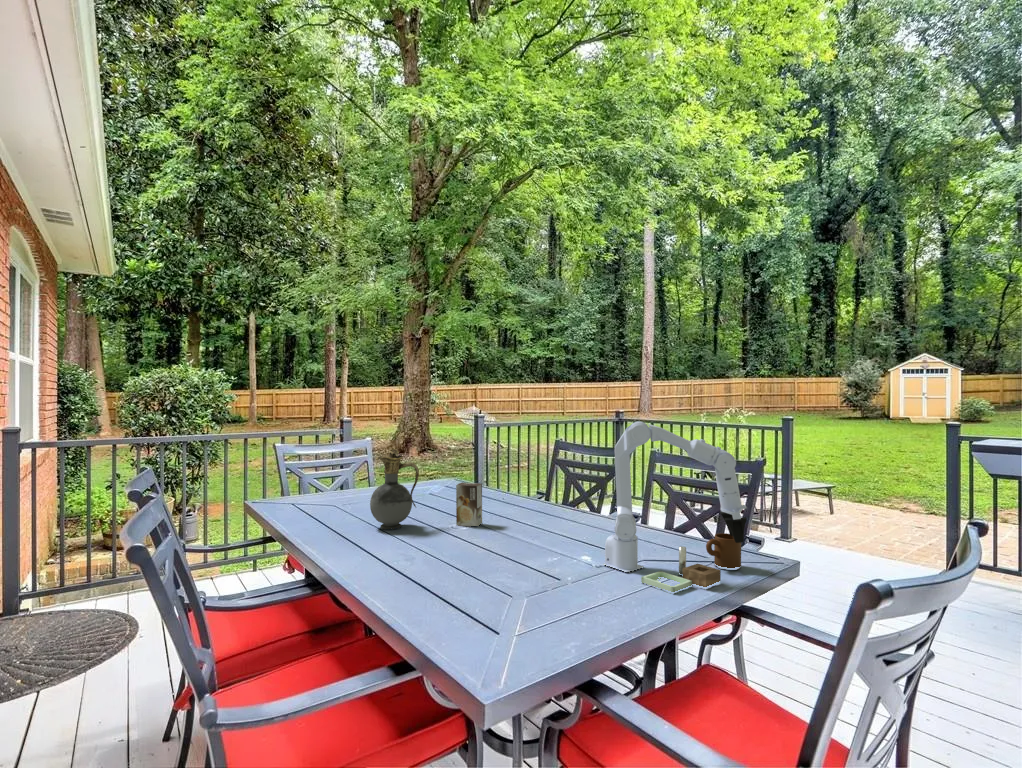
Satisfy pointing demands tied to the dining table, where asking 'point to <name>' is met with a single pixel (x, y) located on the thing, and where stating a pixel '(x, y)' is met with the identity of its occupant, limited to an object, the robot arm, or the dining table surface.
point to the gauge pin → (682, 559)
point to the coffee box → (468, 504)
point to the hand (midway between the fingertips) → (736, 538)
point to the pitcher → (392, 493)
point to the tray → (653, 581)
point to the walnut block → (702, 575)
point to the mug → (725, 550)
